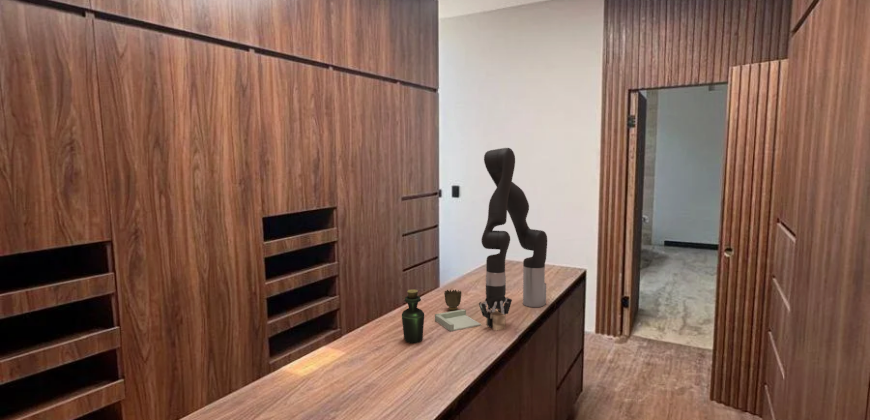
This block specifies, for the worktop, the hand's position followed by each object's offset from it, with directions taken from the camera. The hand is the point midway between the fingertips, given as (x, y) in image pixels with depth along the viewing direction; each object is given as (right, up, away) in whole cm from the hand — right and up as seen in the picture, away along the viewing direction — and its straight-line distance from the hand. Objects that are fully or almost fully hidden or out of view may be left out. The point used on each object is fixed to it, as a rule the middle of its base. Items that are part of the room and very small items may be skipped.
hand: (495, 326), depth 175 cm
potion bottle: (-31, -2, -12) cm, 33 cm away
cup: (-16, +2, +20) cm, 26 cm away
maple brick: (0, 0, 0) cm, 0 cm away
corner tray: (-15, 0, +5) cm, 16 cm away
